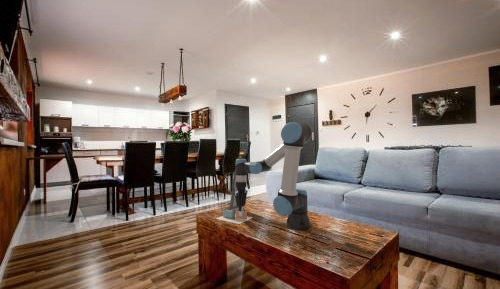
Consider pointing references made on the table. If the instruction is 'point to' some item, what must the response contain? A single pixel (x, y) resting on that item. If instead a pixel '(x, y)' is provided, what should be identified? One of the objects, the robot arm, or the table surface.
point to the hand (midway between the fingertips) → (241, 215)
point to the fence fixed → (229, 213)
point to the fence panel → (241, 216)
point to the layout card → (237, 221)
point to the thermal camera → (233, 200)
